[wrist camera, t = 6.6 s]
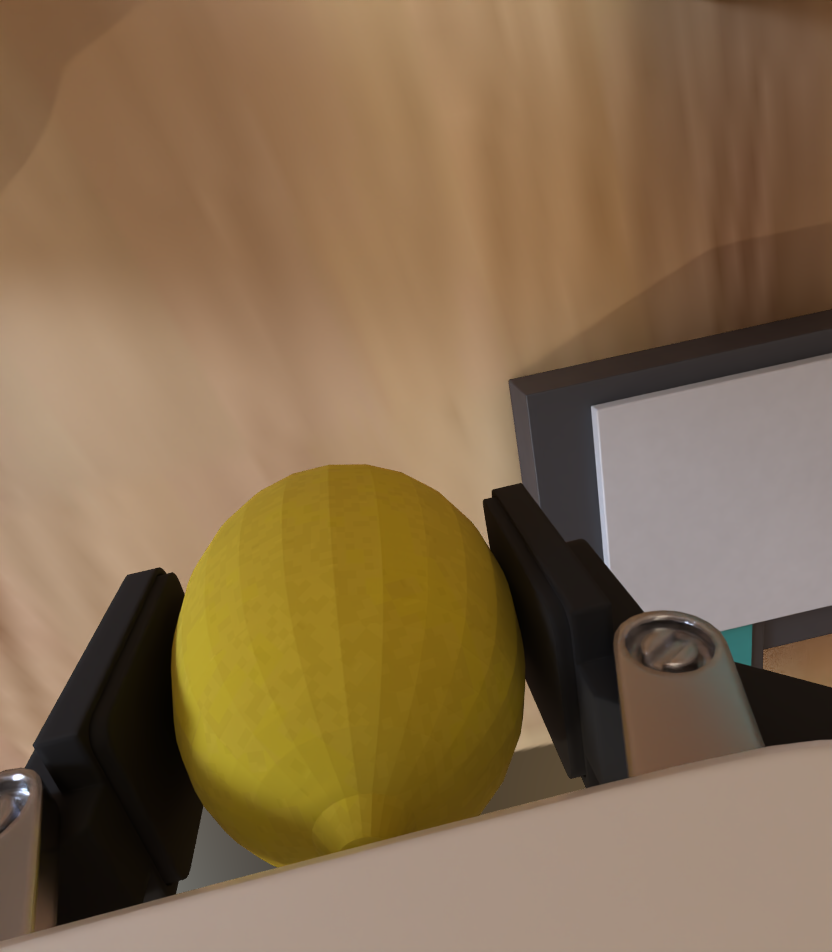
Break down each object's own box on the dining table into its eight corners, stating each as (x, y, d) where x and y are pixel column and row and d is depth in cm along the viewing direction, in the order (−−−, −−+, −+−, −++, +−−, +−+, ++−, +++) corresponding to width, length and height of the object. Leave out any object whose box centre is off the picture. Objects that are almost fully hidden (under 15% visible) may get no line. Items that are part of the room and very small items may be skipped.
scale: (551, 697, 31) (573, 746, 28) (507, 379, 24) (530, 399, 22) (860, 624, 31) (912, 664, 28) (895, 295, 25) (966, 303, 22)
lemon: (491, 581, 15) (649, 920, 8) (279, 661, 15) (240, 1072, 8) (418, 372, 13) (544, 572, 6) (170, 466, 13) (-27, 788, 6)
